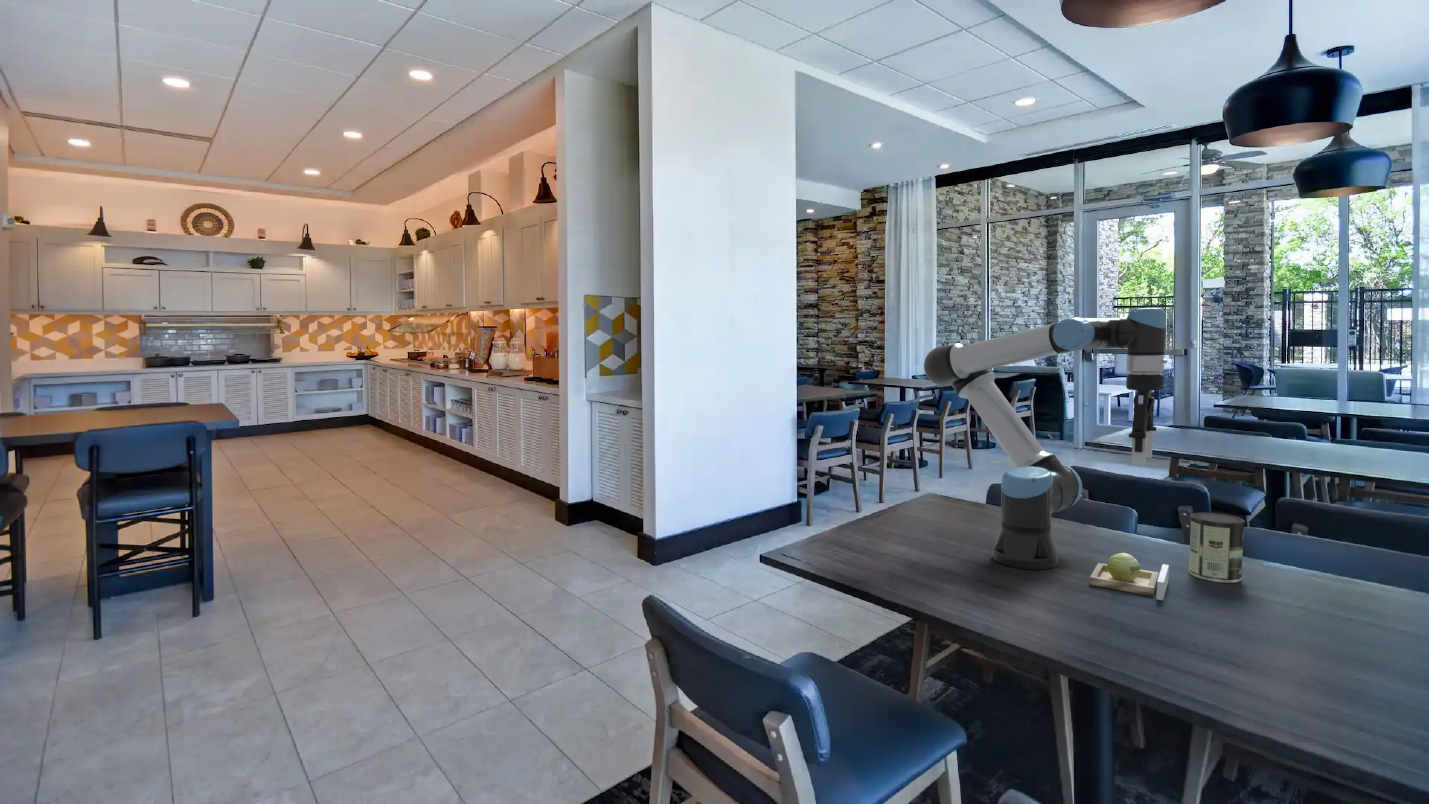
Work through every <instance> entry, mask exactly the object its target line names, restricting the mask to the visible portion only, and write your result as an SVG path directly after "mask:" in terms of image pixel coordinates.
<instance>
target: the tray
mask: <svg viewBox="0 0 1429 804" xmlns="http://www.w3.org/2000/svg"><path fill="white" fill-rule="evenodd" d="M1159 574H1160V571H1159V572H1158V571H1150V570H1146V569H1140V573H1139V576H1138V577H1137V578H1136V579H1134V580H1133V581H1130V582H1125V581H1119V580H1115V579H1114V578H1113V577H1112V576H1111V574H1110V573H1109V571H1108V569H1107V563H1104V562H1103V563H1101V562H1098V563H1097V565H1096V566H1095V568H1094V570H1093V571H1092V573H1091V575H1090V576H1089V585H1090V586H1094V587H1095V586H1096V587H1102V588H1106V589H1111V590H1117V591H1123V592H1128V593H1132V594H1133V593H1135V594H1139V595H1140V594H1141V595H1145V596H1151V597H1154V595H1155V594H1156V593H1155V592H1156V591H1157V580H1158V577H1159Z"/></svg>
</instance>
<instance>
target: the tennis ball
mask: <svg viewBox="0 0 1429 804" xmlns="http://www.w3.org/2000/svg"><path fill="white" fill-rule="evenodd" d="M1106 564H1107V569H1108V571H1109V573H1110V574H1111V576H1112V577H1113V578H1114V579H1115V580H1119V581H1125V582H1130V581H1133V580H1134V579H1136V578H1137V577H1138V576H1139V573H1140V570H1141V567H1140V563H1139V561H1138V560H1137V559H1136V558H1135V557H1134V556H1133V555H1131V554H1129V553H1126V552H1120V553H1115V554H1113V555H1111V556H1110V558H1109V559H1108V561H1107V563H1106Z"/></svg>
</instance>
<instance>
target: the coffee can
mask: <svg viewBox="0 0 1429 804" xmlns="http://www.w3.org/2000/svg"><path fill="white" fill-rule="evenodd" d="M1245 523H1246V520H1244V519H1243V518H1242V517H1239V516H1235V515H1230V514H1226V513H1217V512H1216V513H1215V512H1195V513H1194V512H1193V513H1191V514H1190V538H1189V539H1190V540H1189V546H1190V547H1189V562H1188V563H1189V565H1188V568H1189V569H1188V573H1189V574H1190V575H1191V576H1193V577H1195V578H1198V579H1200V580H1205V581H1207V582H1208V581H1209V582H1214V583H1215V582H1216V583H1220V584H1221V583H1223V584H1225V583H1226V584H1231V583H1232V584H1237V583H1240V582H1242V580H1243V577H1242V575H1243V574H1242V573H1243V548H1244V531H1245V530H1244V529H1245V528H1244V526H1245Z"/></svg>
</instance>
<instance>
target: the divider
mask: <svg viewBox="0 0 1429 804" xmlns="http://www.w3.org/2000/svg"><path fill="white" fill-rule="evenodd" d="M1169 573H1170V565H1169V564H1165V563H1164V564H1163V563H1162V565H1161V569H1160V571H1159V577H1158V580H1157V586H1156V597H1155V598H1156V600H1158V601H1164V598H1165V594H1166V591H1167V587H1168V584H1169V576H1170V575H1169Z"/></svg>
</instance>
